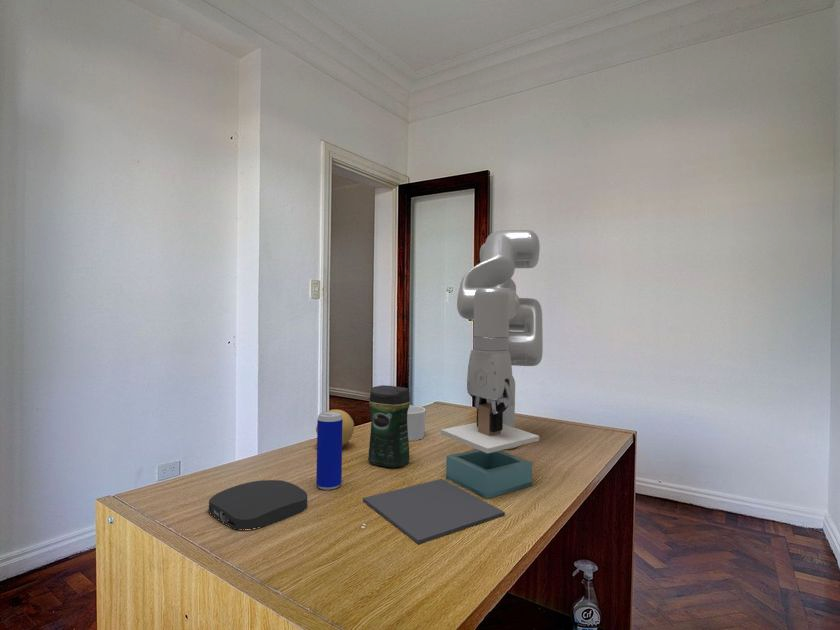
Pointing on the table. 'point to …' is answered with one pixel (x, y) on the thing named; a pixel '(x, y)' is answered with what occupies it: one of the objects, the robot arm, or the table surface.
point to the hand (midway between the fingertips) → (489, 427)
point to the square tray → (489, 472)
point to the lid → (489, 433)
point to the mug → (416, 422)
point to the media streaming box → (257, 503)
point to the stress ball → (345, 426)
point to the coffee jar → (389, 426)
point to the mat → (432, 509)
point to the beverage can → (329, 450)
